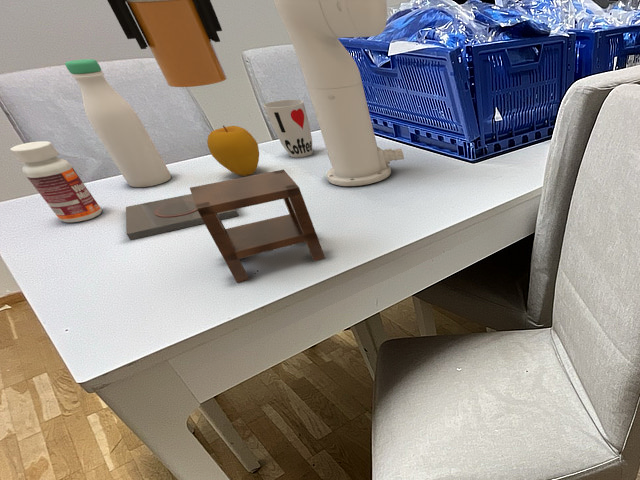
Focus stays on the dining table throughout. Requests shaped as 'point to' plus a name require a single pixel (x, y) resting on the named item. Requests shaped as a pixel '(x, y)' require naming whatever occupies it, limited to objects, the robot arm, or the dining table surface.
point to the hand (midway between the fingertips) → (179, 42)
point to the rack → (260, 233)
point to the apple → (234, 149)
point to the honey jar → (178, 41)
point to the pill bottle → (56, 182)
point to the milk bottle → (118, 127)
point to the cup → (291, 126)
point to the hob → (165, 216)
